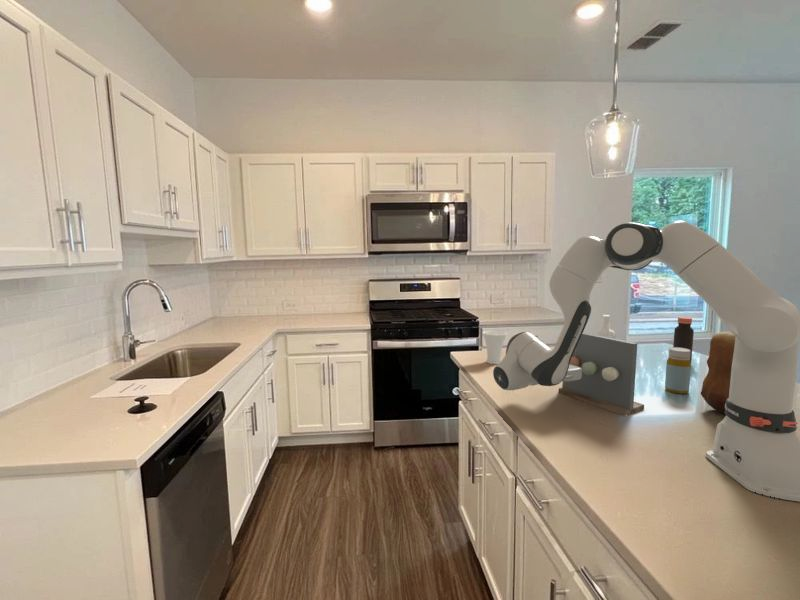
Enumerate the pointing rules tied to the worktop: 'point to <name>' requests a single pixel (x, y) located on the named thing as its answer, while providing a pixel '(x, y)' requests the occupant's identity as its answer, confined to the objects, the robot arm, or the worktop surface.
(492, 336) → the cup
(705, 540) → the worktop surface
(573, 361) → the terracotta button
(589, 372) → the sage button
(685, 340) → the vinegar
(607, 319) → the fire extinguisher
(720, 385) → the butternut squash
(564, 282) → the robot arm
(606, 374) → the cream button
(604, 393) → the button panel
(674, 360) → the bottle
